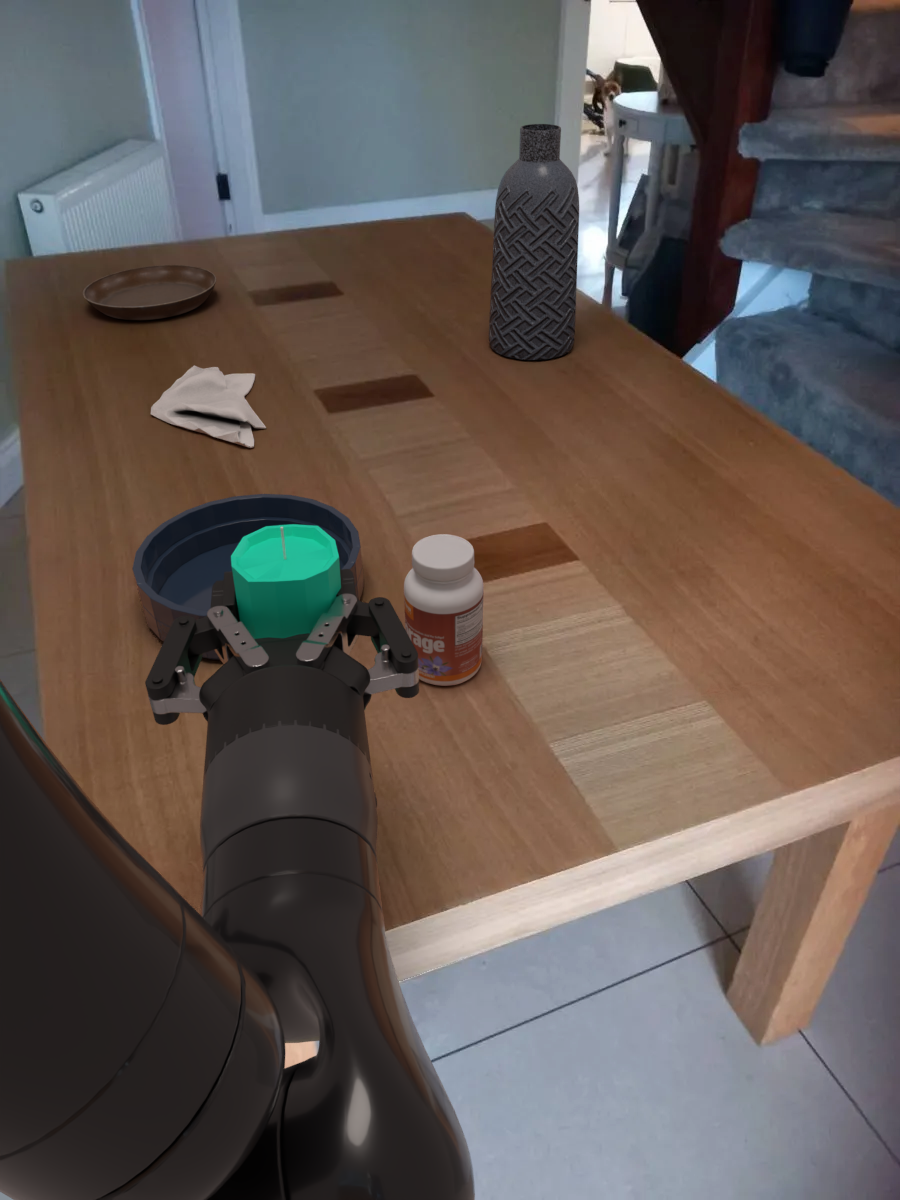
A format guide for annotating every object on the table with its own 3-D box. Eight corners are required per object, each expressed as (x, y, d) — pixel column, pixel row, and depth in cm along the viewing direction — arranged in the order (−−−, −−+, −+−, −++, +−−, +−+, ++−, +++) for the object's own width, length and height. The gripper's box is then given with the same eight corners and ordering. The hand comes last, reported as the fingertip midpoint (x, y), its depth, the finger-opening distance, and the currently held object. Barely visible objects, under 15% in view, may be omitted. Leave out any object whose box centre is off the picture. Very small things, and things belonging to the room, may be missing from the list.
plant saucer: (79, 331, 138) (74, 309, 136) (94, 289, 155) (89, 268, 153) (219, 320, 141) (215, 299, 139) (219, 280, 158) (216, 260, 156)
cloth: (155, 373, 125) (151, 357, 124) (257, 364, 127) (255, 348, 126) (147, 460, 104) (142, 442, 103) (269, 447, 107) (266, 429, 105)
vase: (487, 361, 127) (490, 136, 110) (489, 330, 137) (493, 119, 120) (575, 363, 126) (592, 136, 110) (571, 331, 136) (586, 119, 119)
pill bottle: (391, 662, 75) (383, 549, 69) (446, 630, 79) (444, 519, 72) (442, 700, 72) (439, 583, 65) (498, 664, 75) (501, 550, 68)
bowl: (110, 658, 76) (95, 609, 73) (187, 533, 92) (178, 489, 89) (340, 671, 74) (335, 622, 71) (379, 542, 90) (376, 498, 87)
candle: (293, 654, 60) (275, 491, 53) (368, 686, 57) (359, 518, 51) (230, 706, 56) (201, 536, 49) (307, 743, 53) (289, 569, 46)
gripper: (447, 711, 40) (401, 513, 53) (103, 750, 38) (146, 535, 51) (448, 826, 44) (406, 617, 58) (140, 866, 42) (171, 640, 56)
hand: (284, 579), depth 54 cm, fingers closed on candle, 5 cm apart
